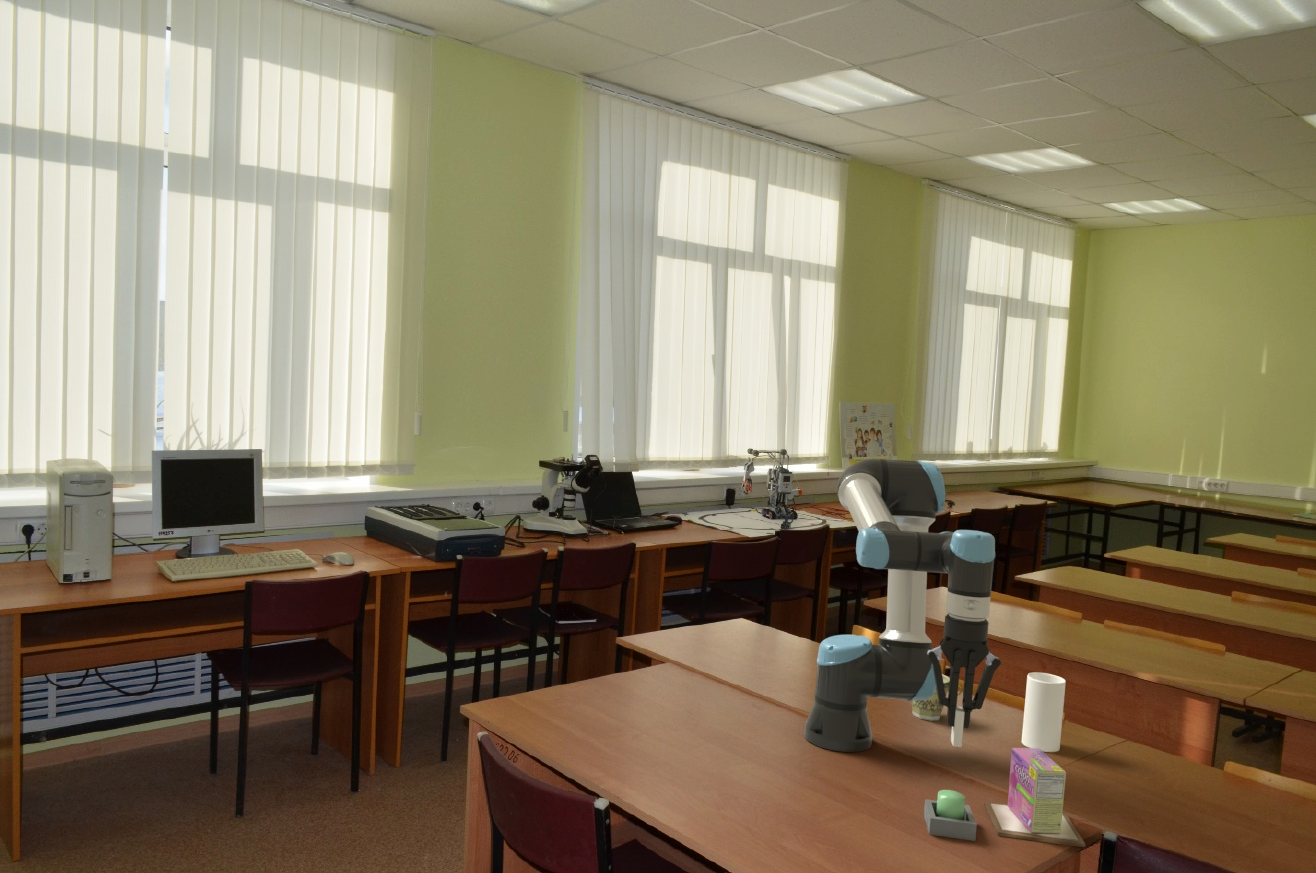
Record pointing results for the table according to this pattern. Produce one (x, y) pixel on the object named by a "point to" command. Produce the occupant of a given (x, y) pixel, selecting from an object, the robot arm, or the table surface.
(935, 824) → the button housing
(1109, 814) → the table surface
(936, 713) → the ceramic cup
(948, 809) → the button
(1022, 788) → the box
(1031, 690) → the cup
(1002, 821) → the clipboard
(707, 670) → the table surface
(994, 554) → the robot arm
